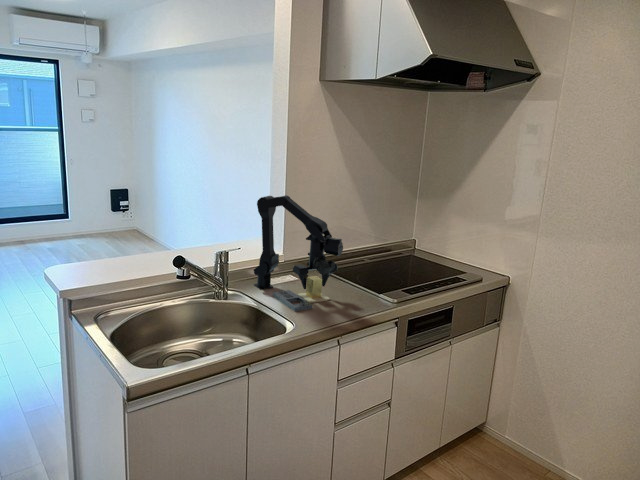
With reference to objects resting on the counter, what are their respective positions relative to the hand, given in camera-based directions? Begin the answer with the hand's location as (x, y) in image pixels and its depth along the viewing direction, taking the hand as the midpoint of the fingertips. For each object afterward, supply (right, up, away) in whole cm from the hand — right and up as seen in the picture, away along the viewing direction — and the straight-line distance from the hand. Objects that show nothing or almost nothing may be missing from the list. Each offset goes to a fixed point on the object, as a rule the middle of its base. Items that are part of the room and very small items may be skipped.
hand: (314, 287), depth 204 cm
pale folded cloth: (0, -4, +1) cm, 4 cm away
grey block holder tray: (-9, -5, -6) cm, 12 cm away
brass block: (0, -4, +1) cm, 4 cm away
